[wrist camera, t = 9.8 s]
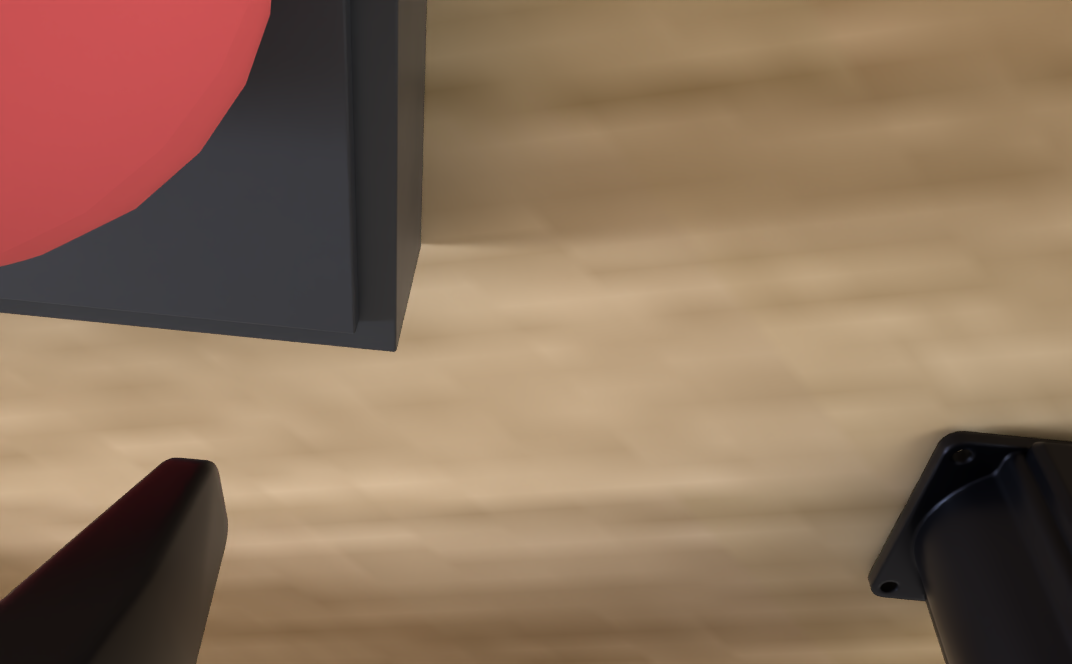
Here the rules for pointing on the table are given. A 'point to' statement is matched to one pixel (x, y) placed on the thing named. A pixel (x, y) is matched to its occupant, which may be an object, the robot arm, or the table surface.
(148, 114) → the stress ball
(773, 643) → the table surface
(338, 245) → the black case
